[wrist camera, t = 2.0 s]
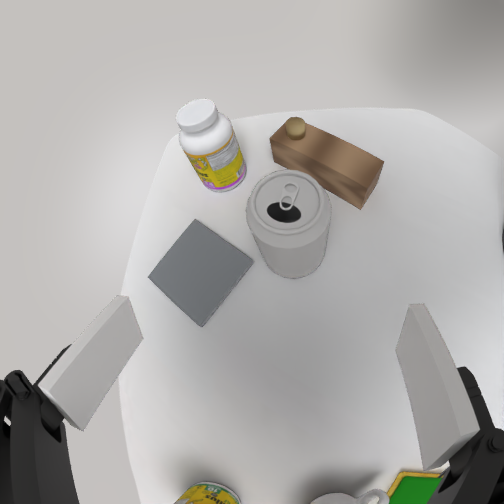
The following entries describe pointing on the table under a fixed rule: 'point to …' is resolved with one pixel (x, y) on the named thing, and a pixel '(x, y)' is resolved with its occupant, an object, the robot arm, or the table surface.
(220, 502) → the supplement bottle
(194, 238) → the trivet
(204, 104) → the supplement bottle
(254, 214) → the can
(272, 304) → the table surface
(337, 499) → the cup
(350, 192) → the walnut block
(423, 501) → the dish sponge
